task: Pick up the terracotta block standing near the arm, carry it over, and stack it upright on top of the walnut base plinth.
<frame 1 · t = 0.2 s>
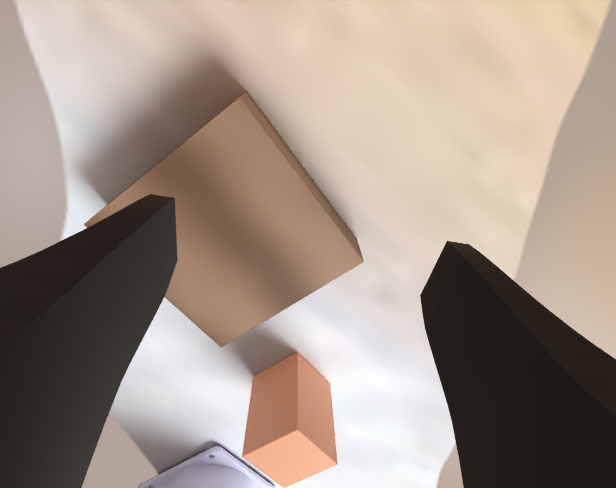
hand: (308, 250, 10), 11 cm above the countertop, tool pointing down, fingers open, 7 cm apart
walnut plinth: (236, 223, 21), on the countertop
terracotta block: (292, 379, 27), on the countertop
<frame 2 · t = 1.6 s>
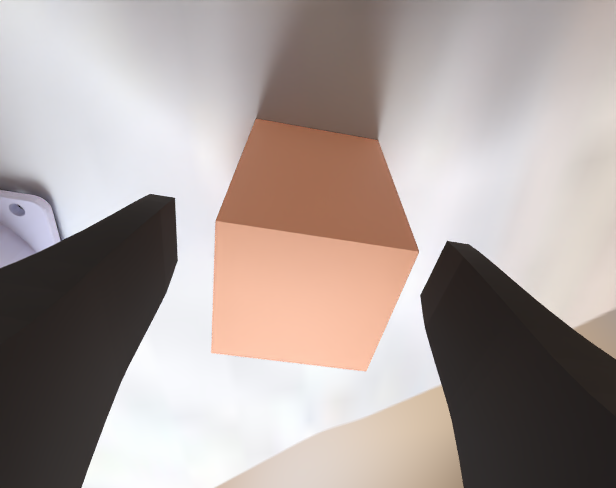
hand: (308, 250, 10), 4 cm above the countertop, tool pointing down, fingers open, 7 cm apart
terracotta block: (307, 184, 13), on the countertop
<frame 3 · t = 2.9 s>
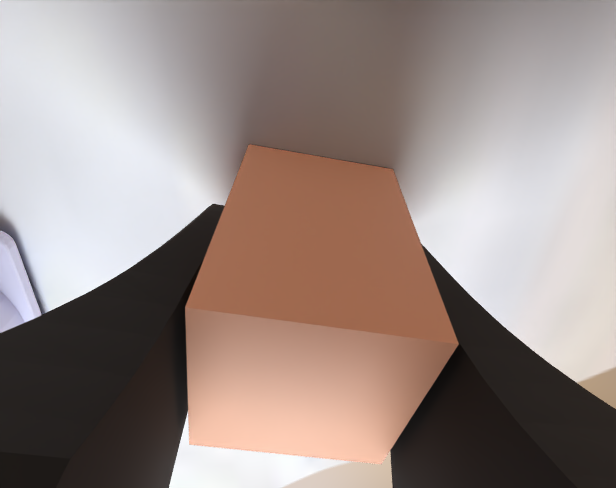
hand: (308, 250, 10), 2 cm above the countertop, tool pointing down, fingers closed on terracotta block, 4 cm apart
terracotta block: (309, 217, 11), on the countertop, touching gripper
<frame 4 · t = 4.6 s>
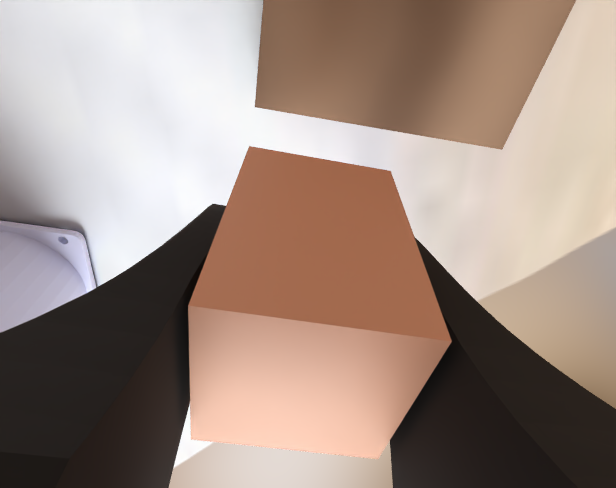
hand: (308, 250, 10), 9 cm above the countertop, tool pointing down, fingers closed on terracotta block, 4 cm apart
terracotta block: (308, 218, 12), point 7 cm above the countertop, touching gripper
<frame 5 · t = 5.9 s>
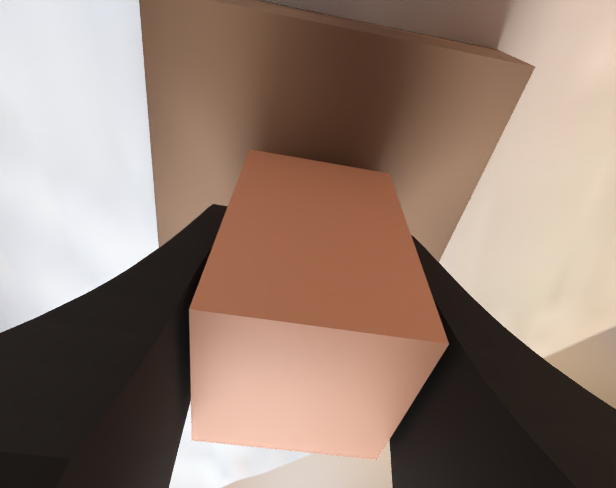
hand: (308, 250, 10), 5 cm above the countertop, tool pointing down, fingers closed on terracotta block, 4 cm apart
walnut plinth: (311, 168, 14), on the countertop
terracotta block: (308, 220, 12), point 3 cm above the countertop, touching gripper
when the fingers open (5 cm above the countertop, at t = 6.6 s): terracotta block stays where it is, resting on walnut plinth.
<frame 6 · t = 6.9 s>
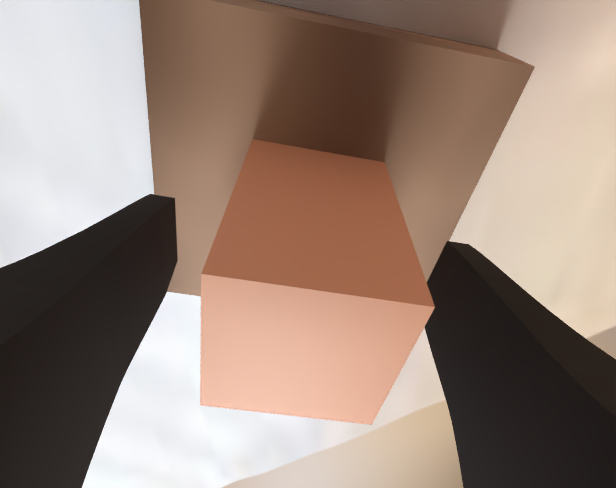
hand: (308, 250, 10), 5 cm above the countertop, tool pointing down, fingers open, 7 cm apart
walnut plinth: (311, 168, 14), on the countertop
terracotta block: (308, 207, 12), point 2 cm above the countertop, touching walnut plinth
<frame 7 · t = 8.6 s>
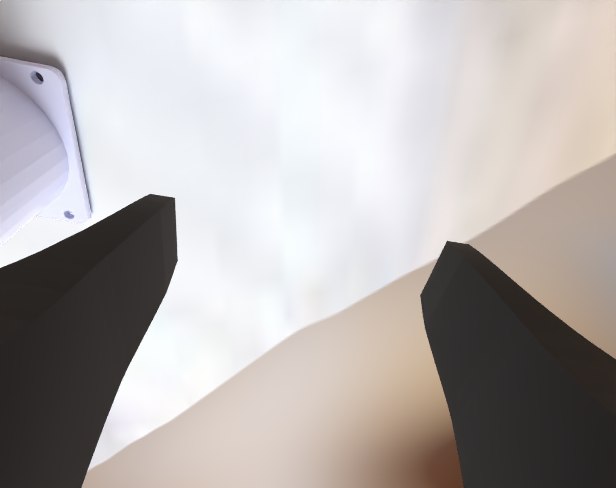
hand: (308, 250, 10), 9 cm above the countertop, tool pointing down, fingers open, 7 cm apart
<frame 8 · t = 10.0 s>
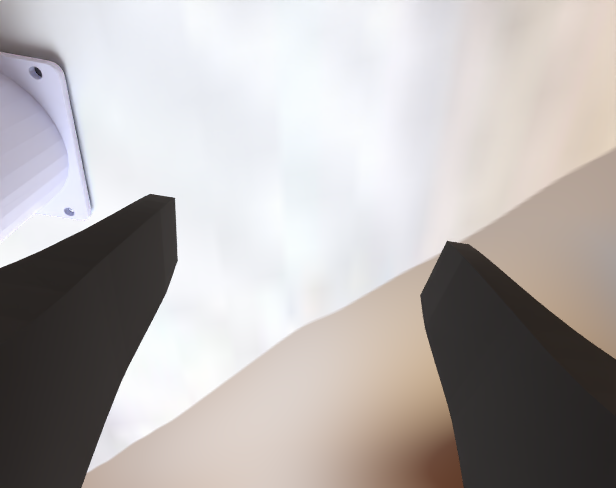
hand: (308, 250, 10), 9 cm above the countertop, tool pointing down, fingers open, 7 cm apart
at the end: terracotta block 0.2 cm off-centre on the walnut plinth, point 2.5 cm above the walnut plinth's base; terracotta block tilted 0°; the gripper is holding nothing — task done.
